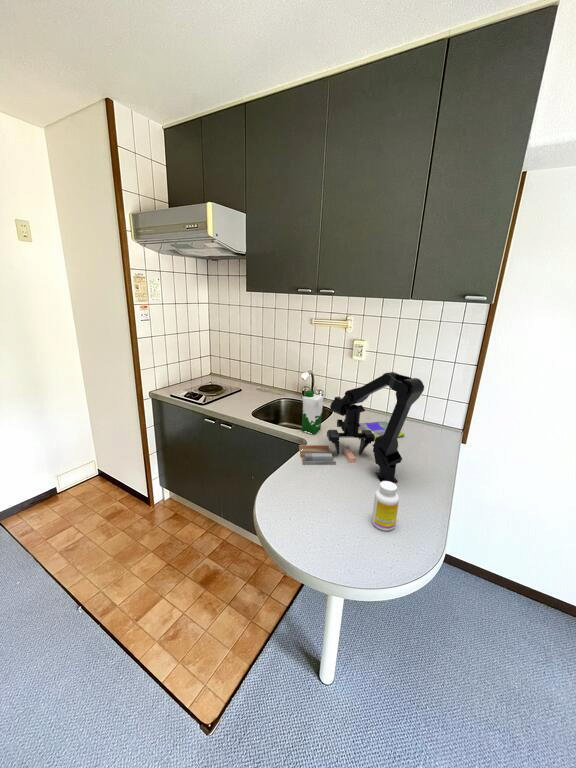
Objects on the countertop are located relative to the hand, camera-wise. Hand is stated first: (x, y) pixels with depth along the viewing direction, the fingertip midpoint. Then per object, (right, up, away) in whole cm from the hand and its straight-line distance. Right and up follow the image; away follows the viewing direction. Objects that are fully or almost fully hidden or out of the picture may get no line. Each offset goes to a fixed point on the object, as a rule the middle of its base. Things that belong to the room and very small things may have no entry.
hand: (348, 454), depth 130 cm
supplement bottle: (+3, -12, -38) cm, 40 cm away
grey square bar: (-13, -1, -5) cm, 14 cm away
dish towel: (+18, +5, +27) cm, 33 cm away
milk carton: (-14, +6, +24) cm, 29 cm away
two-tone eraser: (0, -1, 0) cm, 1 cm away
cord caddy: (-14, -1, -1) cm, 14 cm away
